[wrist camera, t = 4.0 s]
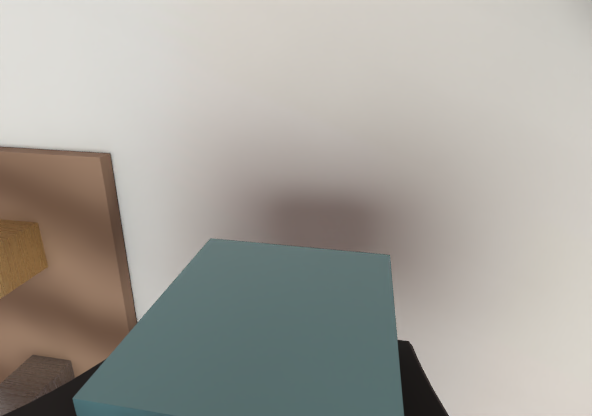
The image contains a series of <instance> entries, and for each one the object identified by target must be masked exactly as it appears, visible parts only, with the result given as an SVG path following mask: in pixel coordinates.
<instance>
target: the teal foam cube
mask: <svg viewBox="0 0 592 416" xmlns="http://www.w3.org/2000/svg"><path fill="white" fill-rule="evenodd" d="M72 399H73V403H74V407H75V411H76V415H77V416H404V410H403V399H402V387H401V376H400V364H399V353H398V342H397V330H396V319H395V307H394V296H393V284H392V273H391V262H390V255H385V254H374V253H363V252H353V251H342V250H331V249H320V248H309V247H298V246H288V245H277V244H266V243H255V242H244V241H234V240H223V239H212V238H210V240H209V241H208V242H207V243H206V244H205V245H204V247H203V248H202V249H201V250H200V251H199V252H198V253H197V255H196V256H195V257H194V258H193V259H192V260H191V262H190V263H189V264H188V265H187V266H186V267H185V269H184V270H183V271H182V272H181V273H180V274H179V275H178V277H177V278H176V279H175V280H174V281H173V282H172V284H171V285H170V286H169V287H168V288H167V289H166V291H165V292H164V293H163V294H162V295H161V296H160V297H159V299H158V300H157V301H156V302H155V303H154V304H153V306H152V307H151V308H150V309H149V310H148V311H147V313H146V314H145V315H144V316H143V317H142V318H141V319H140V321H139V322H138V323H137V324H136V325H135V326H134V328H133V329H132V330H131V331H130V332H129V333H128V335H127V336H126V337H125V338H124V339H123V340H122V341H121V343H120V344H119V345H118V346H117V347H116V348H115V350H114V351H113V352H112V353H111V354H110V355H109V357H108V358H107V359H106V360H105V361H104V362H103V363H102V365H101V366H100V367H99V368H98V369H97V370H96V372H95V373H94V374H93V375H92V376H91V377H90V379H89V380H88V381H87V382H86V383H85V384H84V385H83V387H82V388H81V389H80V390H79V391H78V392H77V394H76V395H75V396H74V397H73V398H72Z"/></svg>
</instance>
